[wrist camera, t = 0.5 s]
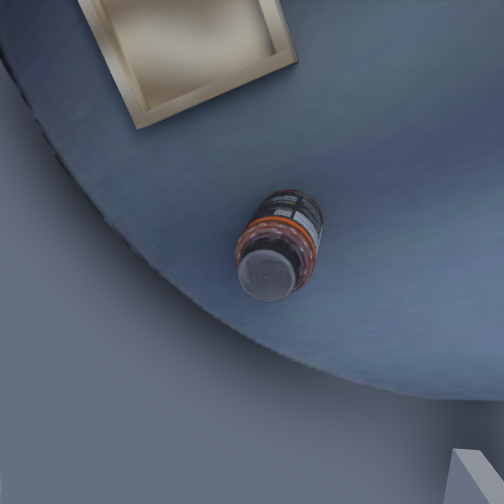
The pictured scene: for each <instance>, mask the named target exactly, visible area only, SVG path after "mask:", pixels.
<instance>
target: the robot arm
mask: <svg viewBox="0 0 504 504" xmlns="http://www.w3.org/2000/svg"><path fill="white" fill-rule="evenodd" d="M1 499H2V489H1V473H0V500H1ZM443 504H504V482H503V480H502V479H501V478H500V476H499V475H498V474H497V472H496V471H495V470H494V468H493V467H492V466H491V464H490V463H489V462H488V461H487V459H486V458H485V456H484V455H483V454H482V453H481V451H479V450H466V449H465V450H464V449H453V452H452V458H451V463H450V469H449V474H448V480H447V486H446V491H445V498H444V503H443Z"/></svg>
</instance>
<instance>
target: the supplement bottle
mask: <svg viewBox="0 0 504 504" xmlns="http://www.w3.org/2000/svg"><path fill="white" fill-rule="evenodd" d="M322 229H323V217H322V213H321V211H320V209H319V207H318V205H317V204H316V203H315V201H314V200H313V199H312V198H310V197H309V196H308V195H306V194H304V193H301V192H298V191H294V190H283V191H279V192H276V193H274V194H272V195H271V196H269V197H268V198H267V199H266V200H265V201H264V202H263V203H262V205H261V206H260V207H259V209H258V210H257V212H256V213H255V215H254V216H253V218H252V219H251V220H250V222H249V223H248V225H247V226H246V228H245V229H244V231H243V232H242V234H241V236H240V237H239V239H238V241H237V244H236V248H235V264H236V267H237V270H238V280H239V283H240V285H241V287H242V288H243V290H244V291H245V292H246V293H247V294H248V295H249V296H251V297H252V298H254V299H256V300H258V301H261V302H268V303H270V302H277V301H280V300H282V299H284V298H286V297H287V296H288V295H289V294H290V293H293V292H295V291H297V290H299V289H300V288H301V287H303V285H305V283H306V282H307V281H308V279H309V278H310V276H311V274H312V272H313V269H314V265H315V262H316V257H317V253H318V248H319V244H320V239H321V235H322Z"/></svg>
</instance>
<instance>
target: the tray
mask: <svg viewBox="0 0 504 504" xmlns="http://www.w3.org/2000/svg"><path fill="white" fill-rule="evenodd" d="M78 2H79V4H80V6H81V8H82V10H83V13H84V15H85V17H86V19H87V21H88V24H89V26H90V28H91V30H92V32H93V34H94V37H95V39H96V41H97V43H98V45H99V48H100V50H101V52H102V54H103V56H104V58H105V61H106V63H107V65H108V67H109V69H110V72H111V74H112V76H113V78H114V80H115V82H116V85H117V87H118V89H119V91H120V93H121V95H122V98H123V100H124V102H125V104H126V106H127V109H128V111H129V113H130V115H131V117H132V119H133V122H134V124H135V126H136V128H137V130H138V129H141V128H144V127H147V126H150V125H153V124H155V123H157V122H160V121H162V120H164V119H167V118H169V117H171V116H174V115H176V114H178V113H181V112H183V111H185V110H188V109H190V108H192V107H194V106H197V105H199V104H201V103H204V102H206V101H208V100H211V99H213V98H215V97H218V96H220V95H222V94H225V93H227V92H229V91H232V90H234V89H236V88H239V87H241V86H243V85H246V84H248V83H250V82H253V81H255V80H257V79H260V78H262V77H264V76H267V75H269V74H271V73H274V72H276V71H278V70H280V69H283V68H285V67H287V66H290V65H292V64H294V63H297V62H299V59H298V56H297V53H296V50H295V47H294V44H293V41H292V38H291V35H290V32H289V29H288V26H287V23H286V20H285V16H284V13H283V10H282V7H281V4H280V1H279V0H78Z"/></svg>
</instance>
